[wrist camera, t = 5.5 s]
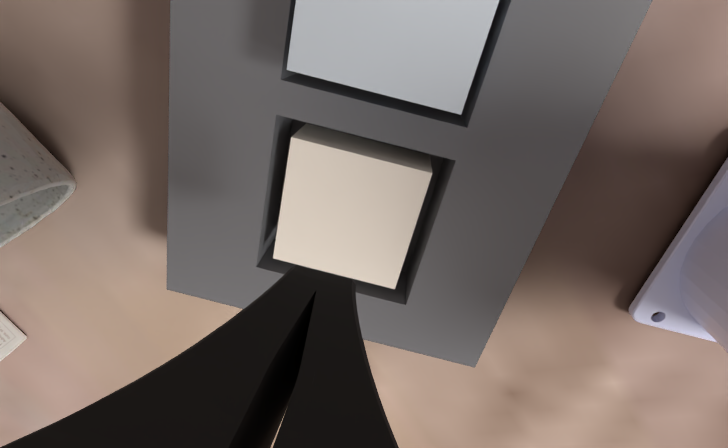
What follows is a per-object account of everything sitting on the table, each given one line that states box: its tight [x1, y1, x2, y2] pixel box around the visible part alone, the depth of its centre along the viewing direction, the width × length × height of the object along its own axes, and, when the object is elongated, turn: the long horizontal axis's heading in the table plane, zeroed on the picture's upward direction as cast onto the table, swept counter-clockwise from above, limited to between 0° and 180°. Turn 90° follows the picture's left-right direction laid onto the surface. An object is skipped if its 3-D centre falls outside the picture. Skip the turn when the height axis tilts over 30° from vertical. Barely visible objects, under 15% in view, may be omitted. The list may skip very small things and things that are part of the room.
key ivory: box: [273, 123, 432, 289], centre depth 14 cm, size 4×4×2 cm
